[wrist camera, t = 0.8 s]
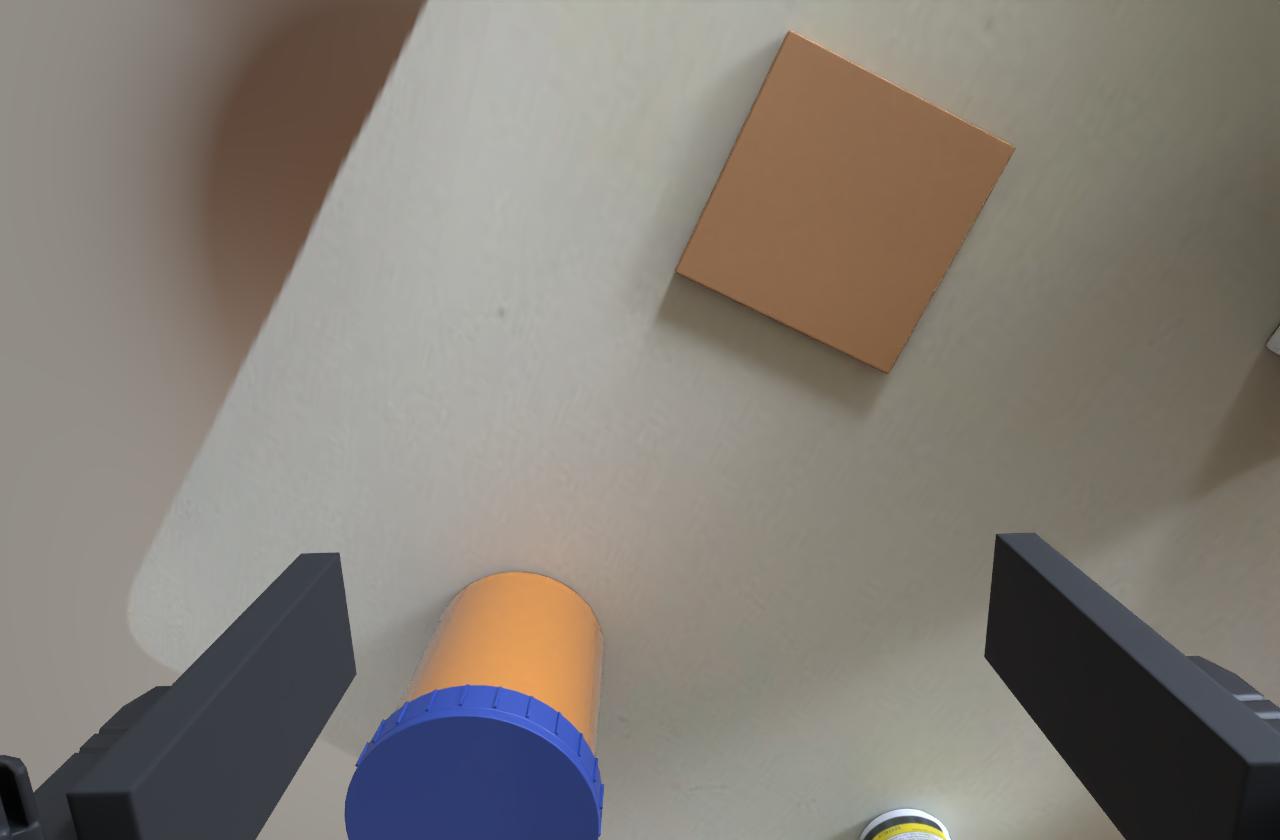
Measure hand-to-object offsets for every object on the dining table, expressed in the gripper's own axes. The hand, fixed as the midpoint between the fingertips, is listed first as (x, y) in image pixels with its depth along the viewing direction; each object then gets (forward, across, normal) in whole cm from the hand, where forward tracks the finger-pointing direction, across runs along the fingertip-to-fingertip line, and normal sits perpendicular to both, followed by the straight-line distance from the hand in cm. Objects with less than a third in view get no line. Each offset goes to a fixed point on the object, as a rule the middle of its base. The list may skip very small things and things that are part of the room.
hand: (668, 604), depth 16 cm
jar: (+19, -7, -12) cm, 23 cm away
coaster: (+19, +8, +7) cm, 22 cm away
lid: (+8, -7, -12) cm, 16 cm away
